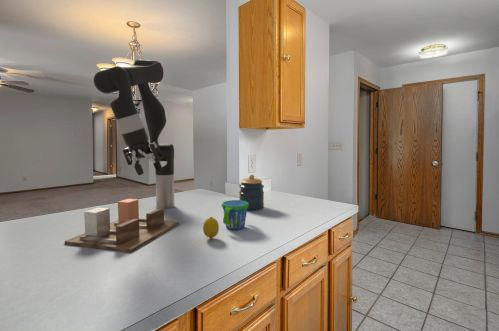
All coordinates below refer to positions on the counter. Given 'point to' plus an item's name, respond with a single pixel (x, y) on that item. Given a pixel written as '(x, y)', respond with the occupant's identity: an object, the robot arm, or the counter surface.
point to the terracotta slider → (128, 210)
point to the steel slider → (97, 222)
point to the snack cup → (235, 214)
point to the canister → (252, 193)
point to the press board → (128, 233)
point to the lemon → (210, 227)
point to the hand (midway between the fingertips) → (150, 173)
